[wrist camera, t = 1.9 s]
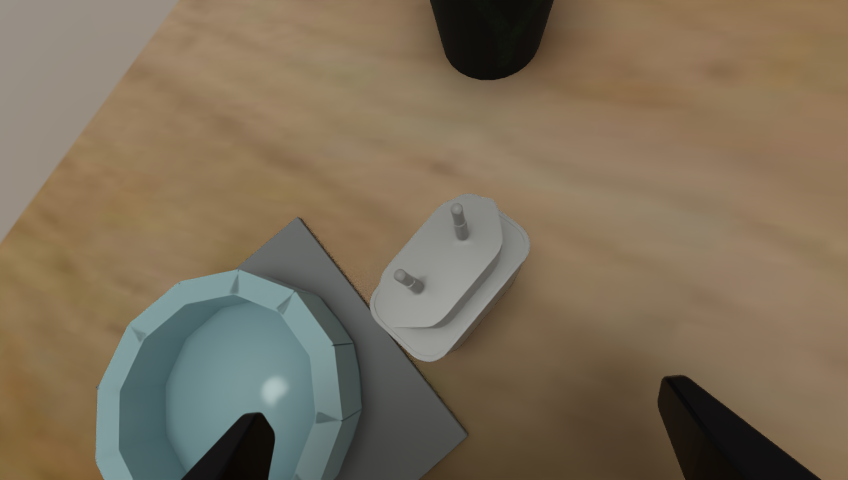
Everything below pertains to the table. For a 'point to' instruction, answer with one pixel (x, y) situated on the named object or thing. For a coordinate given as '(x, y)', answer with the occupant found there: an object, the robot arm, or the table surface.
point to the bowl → (229, 380)
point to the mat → (367, 368)
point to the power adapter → (449, 276)
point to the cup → (490, 34)
